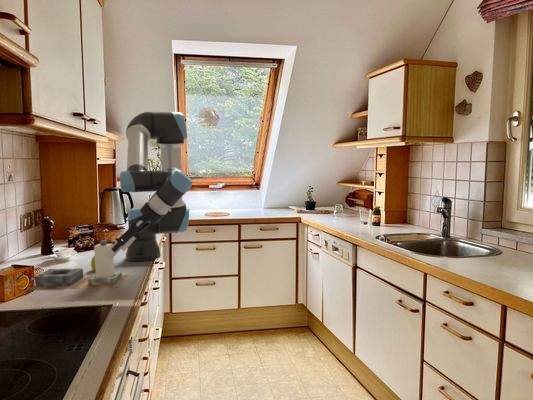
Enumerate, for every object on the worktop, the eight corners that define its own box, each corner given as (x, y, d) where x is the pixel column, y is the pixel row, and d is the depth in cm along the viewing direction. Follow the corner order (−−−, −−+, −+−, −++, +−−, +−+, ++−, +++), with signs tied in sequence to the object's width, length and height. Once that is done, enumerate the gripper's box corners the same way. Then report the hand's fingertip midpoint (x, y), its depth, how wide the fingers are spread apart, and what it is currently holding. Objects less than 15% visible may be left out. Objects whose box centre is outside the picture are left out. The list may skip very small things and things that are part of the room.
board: (132, 278, 156) (132, 264, 156) (117, 292, 140) (116, 276, 140) (52, 280, 156) (51, 266, 156) (27, 293, 140) (26, 278, 140)
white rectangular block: (114, 279, 150) (112, 239, 149) (110, 282, 146) (108, 241, 145) (100, 279, 150) (98, 239, 149) (96, 283, 146) (93, 241, 145)
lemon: (99, 276, 161) (98, 255, 160) (88, 274, 163) (87, 254, 162) (109, 272, 166) (108, 252, 165) (99, 271, 168) (97, 251, 167)
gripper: (154, 221, 133) (109, 269, 134) (171, 211, 157) (133, 252, 159) (136, 204, 132) (92, 253, 133) (156, 197, 157) (118, 238, 158)
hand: (114, 252), depth 146 cm, fingers open, 13 cm apart
